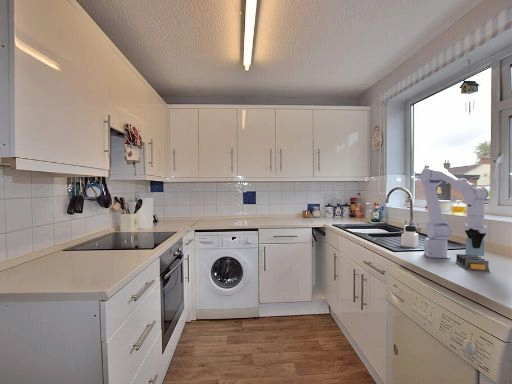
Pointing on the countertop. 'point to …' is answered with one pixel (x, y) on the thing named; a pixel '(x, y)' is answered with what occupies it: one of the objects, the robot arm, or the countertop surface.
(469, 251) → the panel
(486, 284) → the countertop surface
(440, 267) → the countertop surface
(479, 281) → the countertop surface
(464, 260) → the rack
